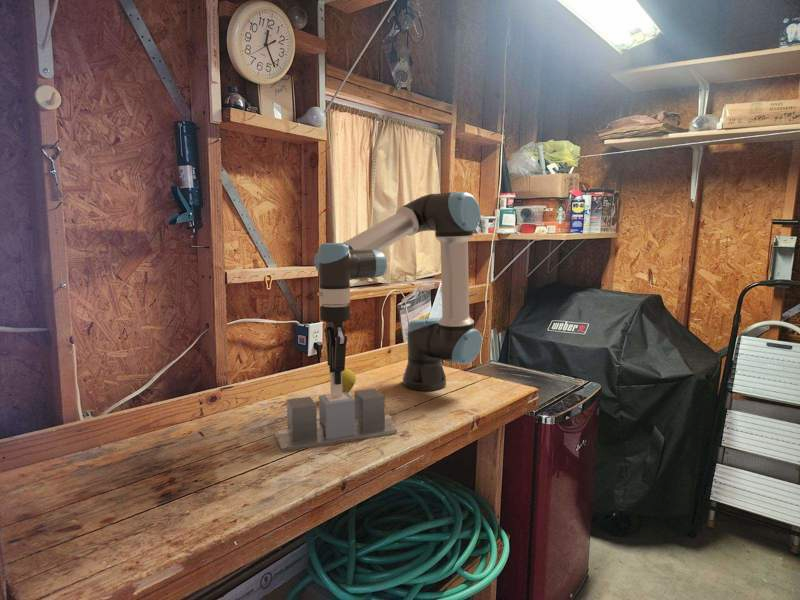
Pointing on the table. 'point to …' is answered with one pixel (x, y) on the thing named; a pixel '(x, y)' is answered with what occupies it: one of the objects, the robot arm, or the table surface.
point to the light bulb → (348, 380)
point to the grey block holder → (310, 434)
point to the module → (337, 415)
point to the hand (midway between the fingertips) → (336, 395)
